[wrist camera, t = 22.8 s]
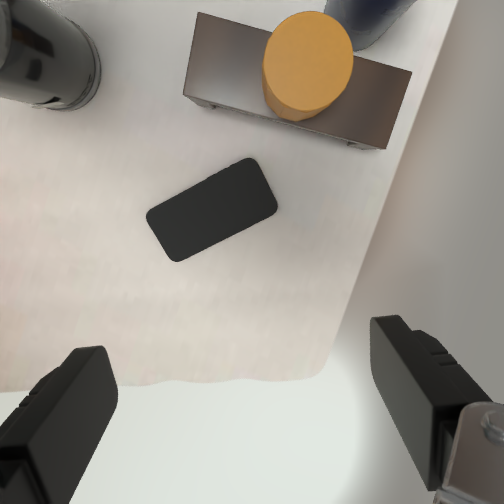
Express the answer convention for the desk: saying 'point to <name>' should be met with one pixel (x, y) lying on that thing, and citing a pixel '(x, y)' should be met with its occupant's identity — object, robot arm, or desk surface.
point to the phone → (212, 210)
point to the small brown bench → (252, 97)
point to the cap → (306, 65)
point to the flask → (366, 18)
